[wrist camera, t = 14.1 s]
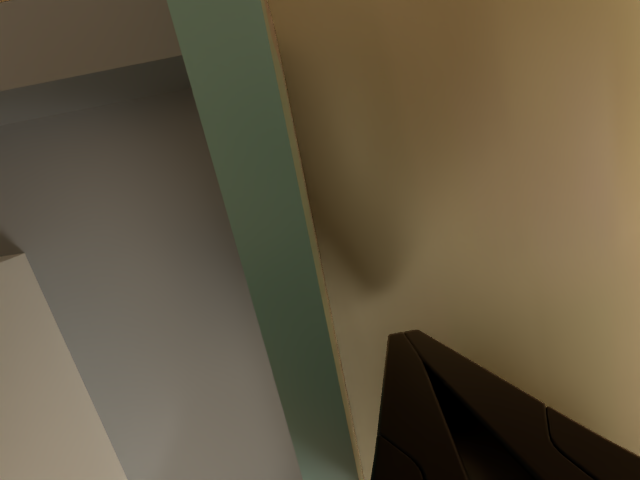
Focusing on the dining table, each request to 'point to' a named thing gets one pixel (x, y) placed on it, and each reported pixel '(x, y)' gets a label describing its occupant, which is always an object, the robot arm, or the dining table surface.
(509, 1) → the dining table surface
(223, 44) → the drawer
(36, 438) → the cream toy brick
